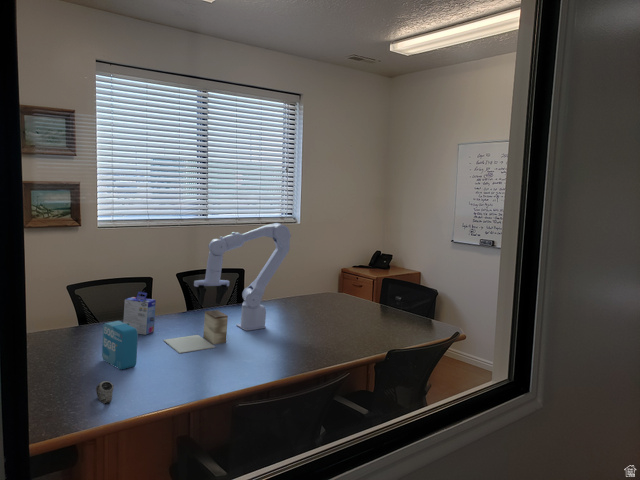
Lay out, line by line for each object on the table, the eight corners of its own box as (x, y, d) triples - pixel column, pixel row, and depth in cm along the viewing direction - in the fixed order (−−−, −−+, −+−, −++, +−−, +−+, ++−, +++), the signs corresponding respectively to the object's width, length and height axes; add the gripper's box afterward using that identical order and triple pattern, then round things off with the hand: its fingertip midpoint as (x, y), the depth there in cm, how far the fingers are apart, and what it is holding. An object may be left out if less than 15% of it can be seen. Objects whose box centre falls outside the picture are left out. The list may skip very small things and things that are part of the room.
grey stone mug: (102, 406, 116) (103, 387, 116) (92, 397, 120) (92, 379, 120) (116, 402, 119) (117, 383, 118) (105, 393, 123) (106, 375, 122)
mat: (197, 335, 174) (197, 334, 174) (215, 347, 163) (215, 346, 163) (163, 340, 165) (163, 339, 165) (179, 353, 155) (179, 352, 155)
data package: (101, 359, 144) (102, 322, 143) (115, 356, 148) (116, 319, 147) (122, 371, 137) (124, 332, 136) (136, 367, 141) (138, 329, 139)
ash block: (215, 336, 175) (217, 310, 174) (226, 342, 169) (227, 315, 168) (203, 337, 172) (205, 311, 171) (213, 344, 166) (215, 317, 165)
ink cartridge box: (155, 331, 174) (157, 293, 173) (146, 335, 169) (148, 296, 167) (131, 327, 176) (132, 290, 175) (122, 331, 171) (123, 293, 169)
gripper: (224, 267, 189) (220, 300, 191) (192, 267, 179) (187, 302, 180) (234, 271, 184) (229, 305, 185) (201, 271, 174) (196, 307, 175)
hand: (209, 304), depth 183 cm, fingers open, 7 cm apart
